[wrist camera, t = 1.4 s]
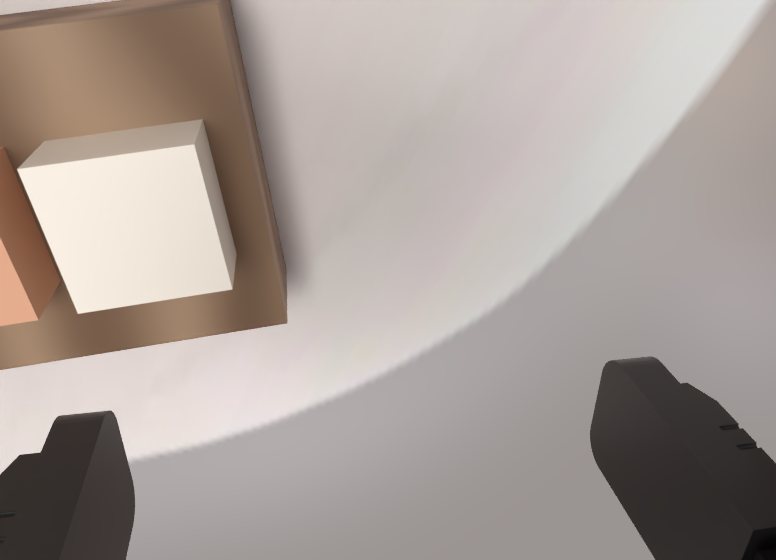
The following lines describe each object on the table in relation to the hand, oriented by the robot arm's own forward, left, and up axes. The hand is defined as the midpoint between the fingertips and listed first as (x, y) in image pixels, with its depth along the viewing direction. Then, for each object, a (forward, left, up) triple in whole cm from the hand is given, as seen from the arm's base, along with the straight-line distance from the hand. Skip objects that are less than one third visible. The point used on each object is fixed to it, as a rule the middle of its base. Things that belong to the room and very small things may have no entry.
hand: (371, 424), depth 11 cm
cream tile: (+7, +2, -18) cm, 19 cm away
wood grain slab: (+11, +2, -23) cm, 25 cm away
